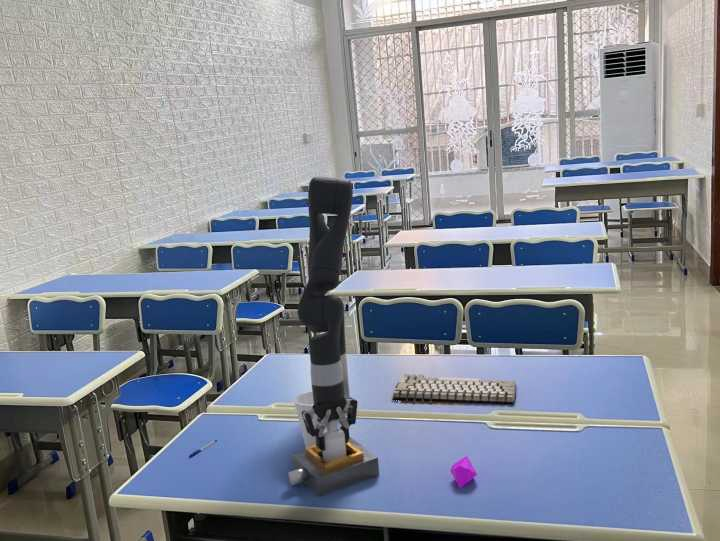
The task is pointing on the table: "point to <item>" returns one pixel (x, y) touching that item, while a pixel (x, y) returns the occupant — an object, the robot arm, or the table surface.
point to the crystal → (463, 471)
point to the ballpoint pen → (201, 449)
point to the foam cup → (302, 404)
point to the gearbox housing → (333, 468)
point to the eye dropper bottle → (334, 442)
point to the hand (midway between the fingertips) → (333, 445)
